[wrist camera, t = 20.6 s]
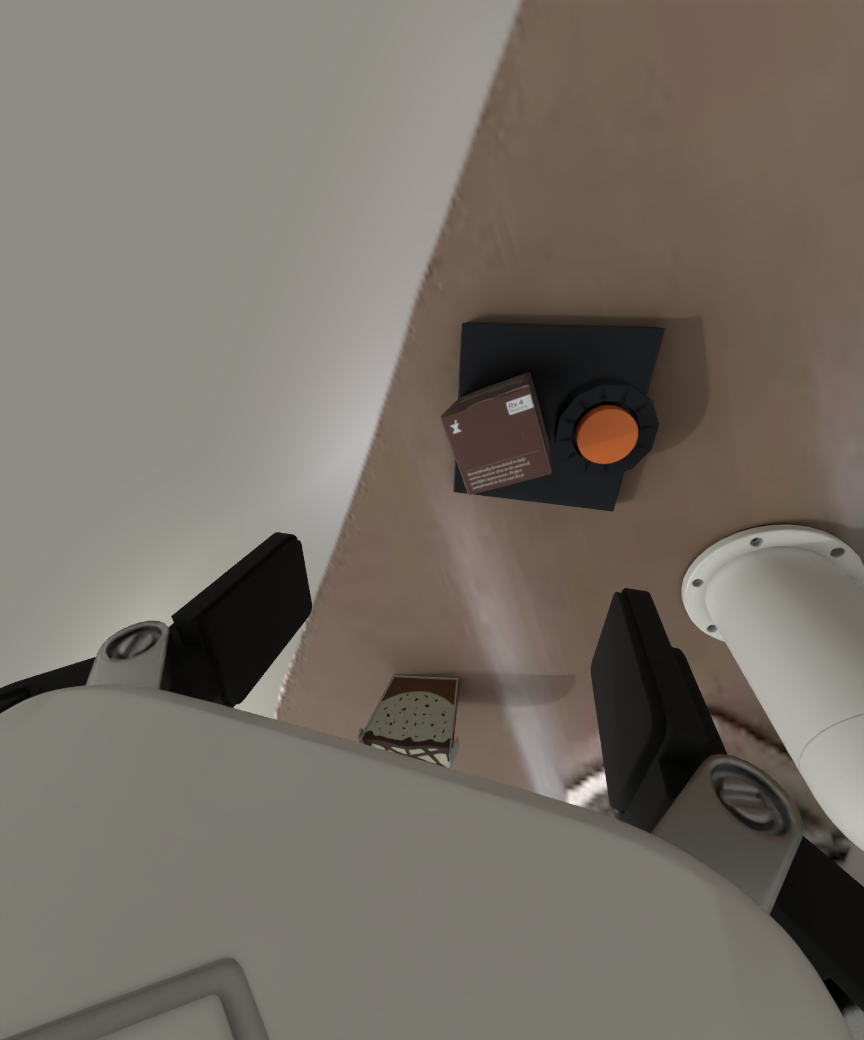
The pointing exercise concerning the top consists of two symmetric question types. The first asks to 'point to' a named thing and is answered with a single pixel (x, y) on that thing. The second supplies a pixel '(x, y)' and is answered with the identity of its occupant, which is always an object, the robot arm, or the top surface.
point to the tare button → (606, 434)
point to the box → (498, 435)
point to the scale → (567, 397)
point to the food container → (416, 719)
